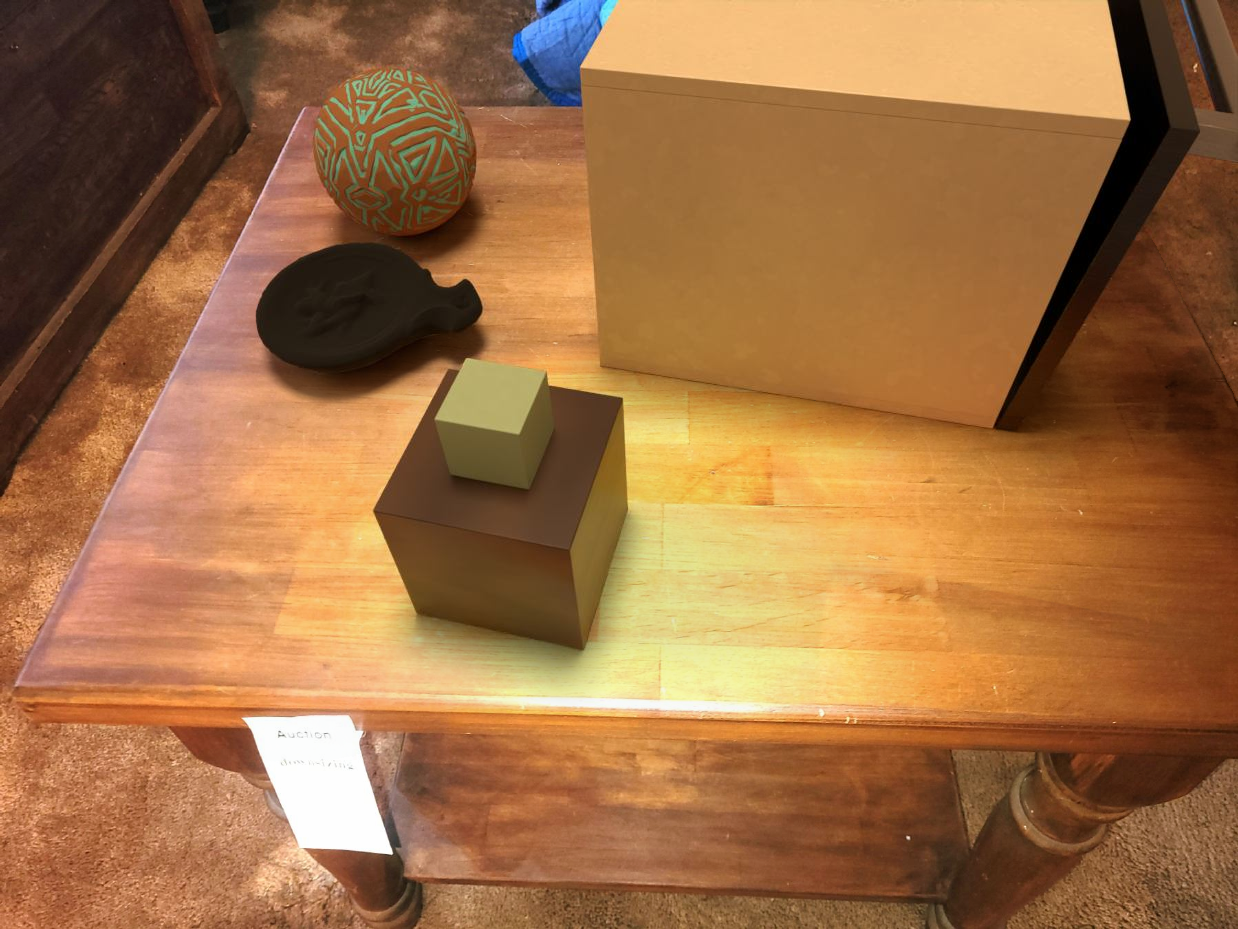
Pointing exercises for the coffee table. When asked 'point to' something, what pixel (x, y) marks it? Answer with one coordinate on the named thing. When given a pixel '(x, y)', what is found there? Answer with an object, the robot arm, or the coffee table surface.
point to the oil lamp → (357, 307)
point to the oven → (843, 190)
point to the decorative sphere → (394, 151)
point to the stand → (513, 525)
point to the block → (496, 423)
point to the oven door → (1136, 168)
